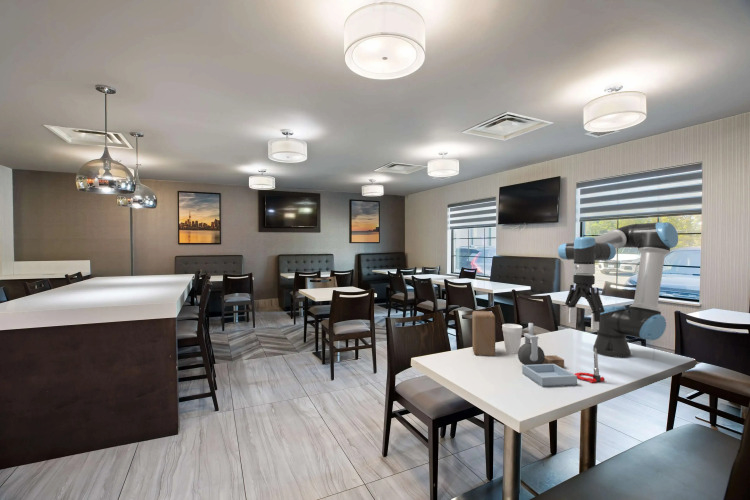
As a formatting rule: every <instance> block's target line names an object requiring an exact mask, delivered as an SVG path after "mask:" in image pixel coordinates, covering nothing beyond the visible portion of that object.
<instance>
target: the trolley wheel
mask: <svg viewBox="0 0 750 500" xmlns="http://www.w3.org/2000/svg"><path fill="white" fill-rule="evenodd" d="M527 327H528V332H527V333H525V332H524V333H523V336H524V344H522V345H520V348H519V351H518V354H517V358H518V360H519V362H520V364H522V365H537V364H543V362H544V358H545V356H546V355H545V351H544V350H543V349H542V348H541V347H540V346H539V345H538V342H539V341H538V339H539V336H538V335H536V334H534V323H533V322H528V326H527Z"/></svg>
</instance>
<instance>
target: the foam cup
mask: <svg viewBox="0 0 750 500" xmlns="http://www.w3.org/2000/svg"><path fill="white" fill-rule="evenodd" d="M501 326H502V328H501V330H502V335H503V340H504V349H505V352H506V353H508V354H512V355H516V354H517V355H518V351H519V348H520V347H521V340H522V335H523V326H522V325H520V324H516V323H503V324H502V325H501Z"/></svg>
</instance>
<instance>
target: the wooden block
mask: <svg viewBox="0 0 750 500" xmlns="http://www.w3.org/2000/svg"><path fill="white" fill-rule="evenodd" d="M471 318H472V327H471V328H472V335H471V336H472V351H473V355H475V356H483V357H484V356H487V357H490V356H491V357H494V356H495V355H496V316H495V314H494V313H493V312H492V311H486V310H485V311H484V310H483V311H482V310H481V311H479V310H473V311H472V317H471Z"/></svg>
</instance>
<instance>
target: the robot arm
mask: <svg viewBox="0 0 750 500" xmlns="http://www.w3.org/2000/svg"><path fill="white" fill-rule="evenodd" d="M678 243H679V233H678V231H677V228H676V227H675V225H674V224H672V223H670V222H667V221H666V222H662V221H657V222H646V223H635V224H634V223H633V224H632V223H631V224H628V225H624V226H620V227H617V228H613V229H612V230H609V231H608V232H606V233H604V234H601V235H600V234H599V235H596V236H594V237H591V236H579V237H575V238H574V241H573V242H571V243H569V242H567V243H561V244H560V245H559V246H558V247H557V253H558V257H559V258H560V259H561V260H568V261H569V260H572V261H573V280H572V281H573V282H572V283H573V284H570V286H569V291H568V294H567V297H566V300H565V303H564V304H565V305H566V306H567V307H568V323H569V324H576V323H577V304H578V303H579V301H580V299H581V298H583V299H584V300H586V301H587V303H588V305H589V308H590V309H591V315H590V317H591V320H590V321H591V322H590V325H591V326H590V330H591V331H597V335H596V339H595V341H594V344H593V346H592V347H593V349H592V350H593V352H594V348H596V349H597V355H598V354H599V355H602V356H605V357H611V358H629V357H631V354H632V353H631V349H630V347H629V344H628V341H627V336H630V337H635V338H639V339H641V340H649V341H656V340H658V339H660V338H661V337H662V336H663V335H664V333H665V331H666V328H667V321H666V318H665V316H663V315H662V311H661V310H660V308H659V307H658V306H659V304H658V303H659V297H660V292H661V284H662V277H663V272H664V271H663V270H664V262H665V258H666V256H667V255H668V254H670V251H671V248H672V249H673V248H675V247H677V245H678ZM622 248H634V249H635V248H637V251H639V253H640V259H639V265H638V271H637V272H638V273H637V279H636V286H635V293H634V300H633V303H632V304H631V305H628V309H627V308H626V306H624V305H603V302H602V299H601V296H600V289H599V287H593V286H594V285H595V284H596V282H595V281H596V280H595V279H596V277H595V274H596V261H602V262H603V261H604V262H605V261H610V260H612V259H614V258H615V257H616V254H617V250H616V249H622Z"/></svg>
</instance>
